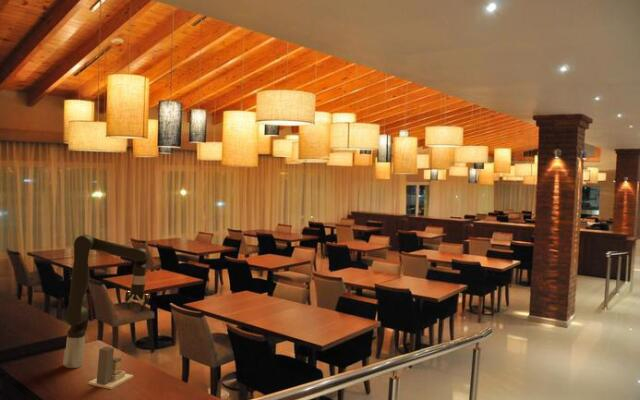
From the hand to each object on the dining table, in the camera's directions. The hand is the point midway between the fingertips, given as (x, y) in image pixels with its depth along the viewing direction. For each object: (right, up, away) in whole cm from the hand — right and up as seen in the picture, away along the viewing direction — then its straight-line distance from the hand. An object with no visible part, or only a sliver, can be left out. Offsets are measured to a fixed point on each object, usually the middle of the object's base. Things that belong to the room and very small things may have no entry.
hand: (135, 310), depth 283 cm
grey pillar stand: (-5, -33, -22) cm, 40 cm away
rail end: (-4, -32, -20) cm, 38 cm away
